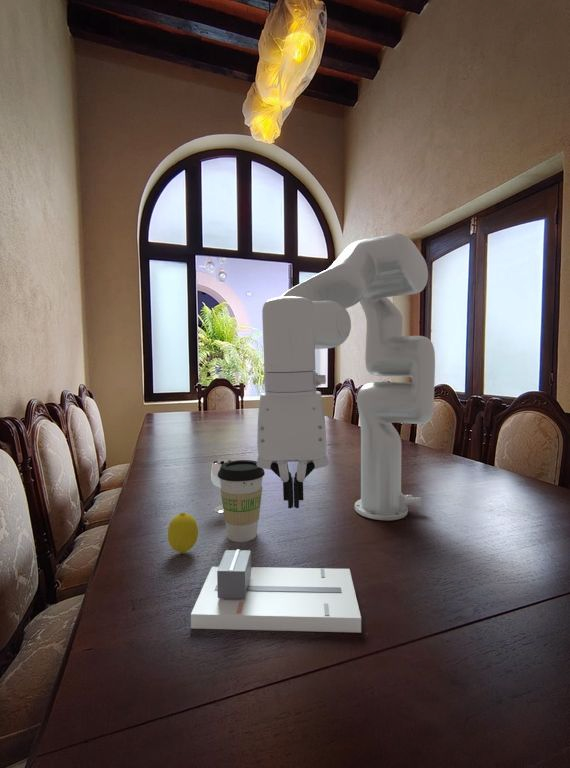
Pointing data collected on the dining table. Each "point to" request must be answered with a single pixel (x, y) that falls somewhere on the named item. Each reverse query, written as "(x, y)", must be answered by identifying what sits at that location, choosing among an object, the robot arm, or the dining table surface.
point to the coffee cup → (241, 498)
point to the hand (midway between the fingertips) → (293, 504)
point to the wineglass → (217, 479)
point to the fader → (234, 574)
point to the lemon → (182, 532)
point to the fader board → (282, 602)
